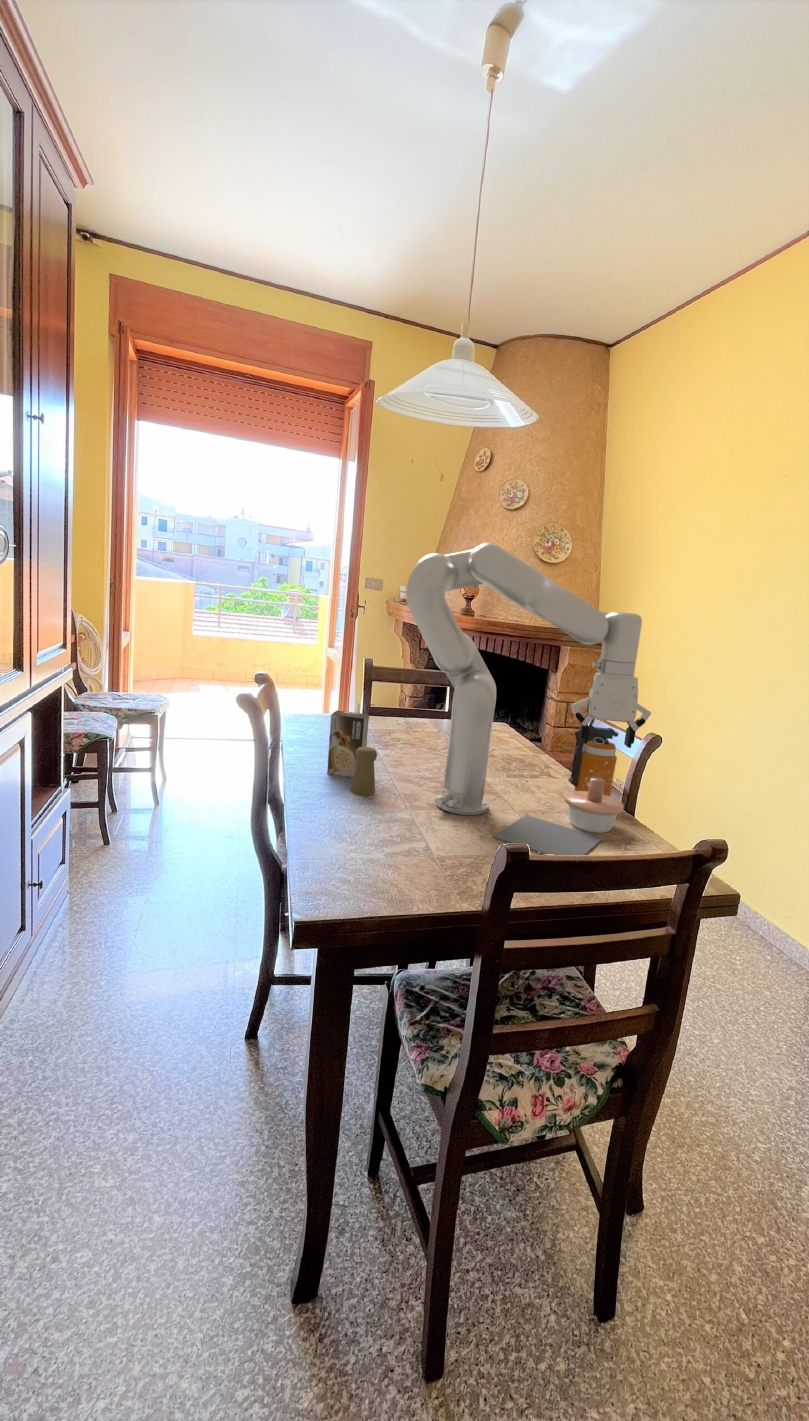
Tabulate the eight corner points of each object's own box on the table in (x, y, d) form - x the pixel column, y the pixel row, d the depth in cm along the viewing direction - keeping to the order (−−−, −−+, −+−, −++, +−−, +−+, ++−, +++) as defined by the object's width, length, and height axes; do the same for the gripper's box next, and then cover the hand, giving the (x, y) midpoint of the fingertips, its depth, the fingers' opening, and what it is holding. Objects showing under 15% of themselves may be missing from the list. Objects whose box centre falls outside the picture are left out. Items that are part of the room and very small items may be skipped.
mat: (574, 865, 122) (574, 863, 122) (491, 837, 132) (491, 835, 132) (602, 839, 137) (602, 838, 137) (526, 816, 147) (526, 815, 147)
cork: (378, 790, 155) (383, 747, 153) (369, 797, 149) (373, 752, 147) (356, 785, 157) (360, 743, 155) (346, 792, 151) (350, 748, 149)
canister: (613, 809, 158) (626, 732, 155) (569, 805, 158) (581, 728, 155) (603, 797, 167) (615, 724, 163) (561, 793, 167) (572, 720, 163)
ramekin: (624, 835, 141) (628, 813, 140) (579, 835, 139) (583, 812, 138) (599, 817, 152) (603, 796, 151) (557, 816, 149) (560, 795, 148)
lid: (613, 819, 135) (618, 792, 134) (556, 803, 142) (560, 777, 141) (629, 805, 146) (634, 781, 145) (575, 791, 153) (579, 767, 152)
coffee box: (365, 772, 168) (370, 714, 165) (359, 779, 162) (365, 718, 159) (332, 767, 170) (337, 709, 167) (325, 774, 164) (330, 713, 161)
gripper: (580, 667, 135) (569, 744, 138) (662, 674, 134) (649, 752, 137) (573, 663, 143) (564, 736, 146) (651, 670, 141) (639, 744, 145)
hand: (605, 744), depth 142 cm, fingers open, 9 cm apart
